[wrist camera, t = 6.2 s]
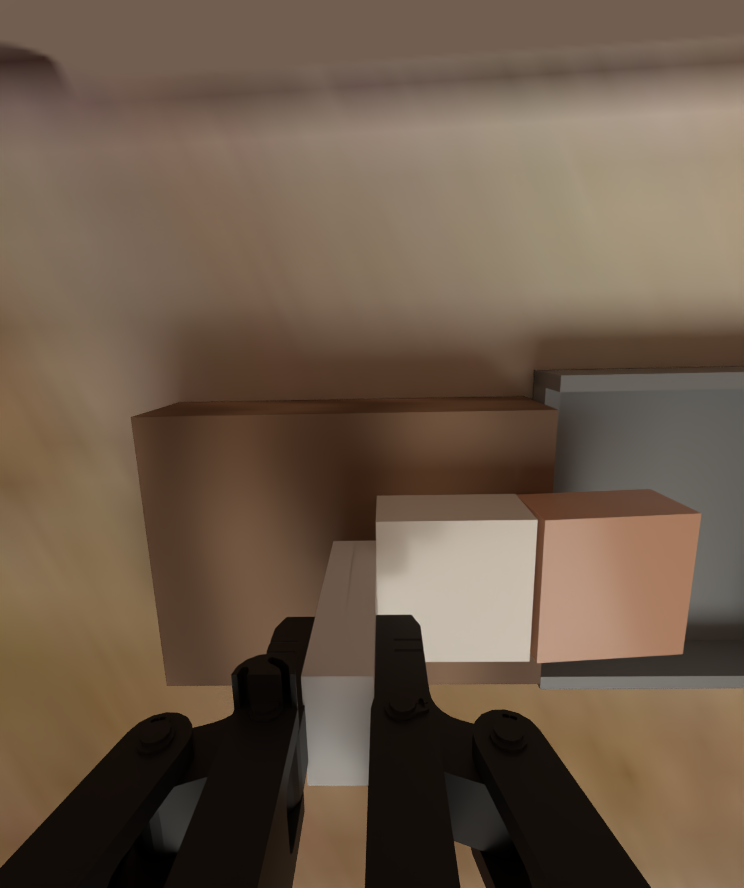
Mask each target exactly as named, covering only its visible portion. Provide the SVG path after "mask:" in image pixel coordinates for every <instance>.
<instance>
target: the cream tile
mask: <svg viewBox="0 0 744 888" xmlns="http://www.w3.org/2000/svg"><path fill="white" fill-rule="evenodd" d="M537 523H538V520H537V518H536V517H535V516H534V515H533V514H532V513H531V511H530V510H529V509H528V508H527V507H526V506H525V504H524V503H523V502H522V501H521V500H520V499H519V497H518V496H517V495H516V494H463V495H391V496H377V503H376V557H377V603H378V615H412V616H413V617H414V618H415V620H416V621H417V622H418V623H419V624H420V626H421V633H422V641H423V648H424V655H425V662H530V644H531V627H532V610H533V592H534V575H535V558H536V541H537Z"/></svg>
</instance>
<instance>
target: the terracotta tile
mask: <svg viewBox="0 0 744 888" xmlns="http://www.w3.org/2000/svg"><path fill="white" fill-rule="evenodd" d="M517 496H518V497H519V499H520V500H521V501H522V502H523V503H524V504H525V506H526V507H527V508H528V509H529V510H530V511H531V513H532V514H533V515H534V516H535V517H536V518H537V520H538V523H537V541H536V558H535V575H534V592H533V610H532V627H531V644H530V653H531V654H532V656H533V658H534V659H535V661H536V663H549V662H565V661H581V660H597V659H613V658H629V657H645V656H661V655H677V654H683V648H684V641H685V633H686V626H687V618H688V611H689V604H690V596H691V589H692V581H693V574H694V566H695V559H696V551H697V544H698V536H699V529H700V521H701V514H702V513H700V512H698V511H696V510H694V509H691V508H689V507H687V506H685V505H683V504H681V503H679V502H677V501H675V500H672V499H670V498H668V497H666V496H664V495H662V494H660V493H658V492H656V491H654V490H651V489H637V490H613V491H590V492H567V493H543V494H520V495H517Z"/></svg>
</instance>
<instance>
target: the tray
mask: <svg viewBox="0 0 744 888" xmlns="http://www.w3.org/2000/svg"><path fill="white" fill-rule="evenodd" d="M533 400H534V401H537V402H540V403H542V404H545V405H547V406H550V407H552V408H555V409H558V422H557V437H556V452H555V467H554V482H553V493H567V492H590V491H613V490H637V489H651V490H654V491H656V492H658V493H660V494H662V495H664V496H666V497H668V498H670V499H672V500H675V501H677V502H679V503H681V504H683V505H685V506H687V507H689V508H691V509H694V510H696V511H698V512H700V513H702V514H701V521H700V529H699V536H698V544H697V551H696V559H695V566H694V574H693V581H692V589H691V596H690V604H689V611H688V618H687V626H686V633H685V641H684V648H683V654H677V655H661V656H645V657H629V658H613V659H597V660H581V661H565V662H549V663H541V676H540V684H538V686H539V688H540V689H699V688H744V366H731V367H679V368H628V369H576V370H534V388H533Z"/></svg>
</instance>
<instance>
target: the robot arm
mask: <svg viewBox="0 0 744 888" xmlns="http://www.w3.org/2000/svg"><path fill="white" fill-rule="evenodd" d="M231 680H232V690H233V700H234V712H233V714H232V715H230V716H229V717H227V718H225V719H222V720H220V721H217V722H214V723H210V724H206V725H203V726H199V727H195V728H192V724H191V722H190V721H189V719H188V717H186V716H184V715H182V714H180V713H168V712H166V713H162V714H158V715H154V716H151V717H149V718H147V719H145V720H143V721H141V722H139V723H138V724H137V725H136V726H135V727H133V728H132V729H131V730H130V731H129V732H127V733H126V735H125V736H124V737H123V738H122V739H121V740H120V741H119V742H118V743H117V744H116V745H115V746H114V747H113V748H112V749H111V751H110V752H109V753H108V754H107V755H106V756H105V757H104V758H103V759H102V760H101V761H100V762H99V763H98V764H97V765H96V767H95V768H94V769H93V770H92V771H91V772H90V773H89V774H88V775H87V776H86V777H85V778H84V779H83V780H82V781H81V783H80V784H79V785H78V786H77V787H76V788H75V789H74V790H73V791H72V792H71V793H70V794H69V795H68V796H67V797H66V799H65V800H64V801H63V802H62V803H61V804H60V805H59V806H58V807H57V808H56V809H55V810H54V811H53V812H52V813H51V815H50V816H49V817H48V818H47V819H46V820H45V821H44V822H43V823H42V824H41V825H40V826H39V827H38V828H37V829H36V831H35V832H34V833H33V834H32V835H31V836H30V837H29V838H28V839H27V840H26V841H25V842H24V843H23V844H22V845H21V846H20V848H19V849H18V850H17V851H16V852H15V853H14V854H13V855H12V856H11V857H10V858H9V859H8V860H7V861H6V862H5V864H4V865H3V866H2V867H1V868H0V888H292V885H293V879H294V873H295V867H296V860H297V854H298V848H299V842H300V836H301V830H302V823H303V817H304V792H303V789H304V784H305V778H306V772H307V780H308V786H368V810H367V841H366V872H365V888H460V882H459V875H458V868H457V861H456V854H455V846H454V841H456V842H459V843H461V844H464V845H467V846H470V847H471V850H472V854H473V857H474V859H475V862H476V864H477V867H478V869H479V872H480V874H481V877H482V879H483V882H484V884H485V887H486V888H651V887H650V885H649V884H648V883H647V881H646V880H645V878H644V877H643V876H642V874H641V873H640V871H639V870H638V868H637V867H636V866H635V864H634V863H633V861H632V860H631V859H630V857H629V856H628V854H627V853H626V851H625V850H624V849H623V847H622V846H621V844H620V843H619V842H618V840H617V839H616V837H615V836H614V834H613V833H612V832H611V830H610V829H609V827H608V826H607V825H606V823H605V822H604V820H603V819H602V817H601V816H600V815H599V813H598V812H597V810H596V809H595V808H594V806H593V805H592V803H591V802H590V800H589V799H588V798H587V796H586V795H585V793H584V792H583V791H582V789H581V788H580V786H579V785H578V783H577V782H576V781H575V779H574V778H573V776H572V775H571V774H570V772H569V771H568V769H567V768H566V766H565V765H564V764H563V762H562V761H561V759H560V758H559V756H558V755H557V754H556V752H555V751H554V749H553V748H552V747H551V745H550V744H549V742H548V741H547V739H546V738H545V737H544V735H543V734H542V732H541V731H540V730H539V729H538V727H537V726H536V725H535V724H534V723H533V722H532V721H531V720H529V719H528V718H526V717H524V716H522V715H521V714H519V713H516V712H512V711H508V710H491V711H489V712H486V713H484V714H481V716H480V717H479V718H478V719H477V720H476V721H475V723H474V724H473V723H469V722H465V721H462V720H459V719H456V718H453V717H451V716H449V715H447V714H446V713H444V712H442V711H441V710H440V709H439V708H438V707H437V706H436V705H435V703H434V702H433V700H432V699H431V695H430V692H429V685H428V677H427V670H426V663H425V655H424V648H423V641H422V633H421V626H420V624H419V623H418V622H417V621H416V620H415V618H414V617H413V616H412V615H378V603H377V557H376V541H333V545H332V549H331V553H330V557H329V562H328V566H327V570H326V574H325V578H324V582H323V587H322V591H321V595H320V599H319V603H318V608H317V612H316V616H315V617H286V618H285V619H284V620H283V621H282V622H281V623H280V624H279V625H278V626H277V627H276V628H275V630H274V633H273V635H272V638H271V641H270V644H269V646H268V649H267V653H266V654H262V655H257V656H254V657H252V658H249V659H247V660H245V661H244V662H242V663H241V664H240V665H238V666H237V667H236V669H235V670H234V671H233V673H232V674H231Z"/></svg>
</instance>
